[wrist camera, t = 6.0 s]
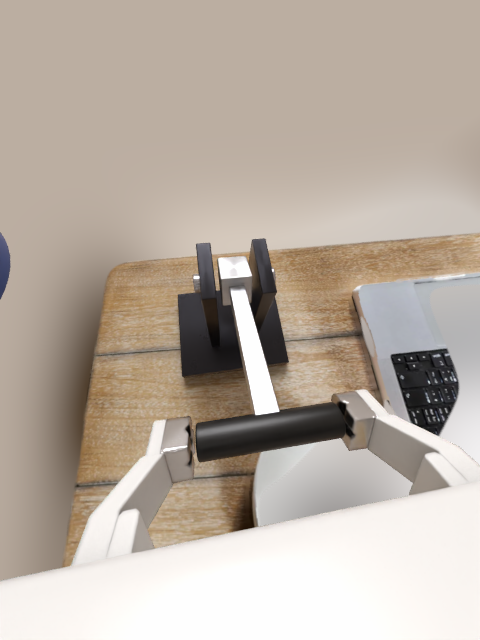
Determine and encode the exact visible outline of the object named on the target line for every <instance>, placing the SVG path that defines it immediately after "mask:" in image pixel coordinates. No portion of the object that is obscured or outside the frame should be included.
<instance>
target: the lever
mask: <svg viewBox="0 0 480 640" xmlns="http://www.w3.org/2000/svg"><path fill="white" fill-rule="evenodd" d="M217 262H218V274H219V285H220V292H221V298H222V305H223V306H224V305H231V307H232V312H233V317H234V323H235V328H236V333H237V338H238V343H239V348H240V354H241V359H242V364H243V369H244V374H245V380H246V385H247V390H248V395H249V400H250V406H251V411H252V415H245V416H239V417H232V418H226V419H219V420H213V421H207V422H200V423H197V425H196V451H197V457H198V461H199V462H206V461H212V460H217V459H223V458H229V457H235V456H240V455H246V454H252V453H258V452H263V451H269V450H275V449H281V448H286V447H292V446H298V445H304V444H310V443H315V442H321V441H327V440H332V439H338V438H343V437H344V436H345V433H346V426H345V421H344V417H343V415H342V412H341V410H340V409H339V407H338V406H337V405H336V404H335V403H333V402H329V403H322V404H316V405H309V406H303V407H296V408H290V409H284V410H279V406H278V402H277V399H276V395H275V392H274V388H273V385H272V381H271V378H270V374H269V370H268V367H267V363H266V360H265V356H264V353H263V349H262V346H261V342H260V338H259V335H258V331H257V328H256V324H255V321H254V317H253V314H252V310H251V306H250V303H251V302H252V278H253V276H252V273H251V270H250V267H249V264H248V261H247V258H246V256H239V257H227V258H218V259H217Z"/></svg>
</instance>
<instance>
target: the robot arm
mask: <svg viewBox="0 0 480 640" xmlns="http://www.w3.org/2000/svg"><path fill="white" fill-rule="evenodd" d="M331 401H332V402H333V403H335V404H336V405H337V406H338V407H339V409H340V410H341V412H342V415H343V417H344V421H345V426H346V433H345V436H344V437H343V438H341V439H342V440H343V441H344V443H345V445H346V447H347V448H348V450H349V451H352V450H358V449H365V448H368V450H370V451H371V452H372V453H374V454H375V455H376V456H378V457H379V458H380V459H382V460H383V461H384V462H386V463H387V464H388V465H390V466H391V467H392V468H394V469H395V470H397V471H398V472H399V473H400V474H402V475H403V476H404V477H406V478H407V479H408V480H410V481H411V482H413V485H412V487H411V490H410V492H409V496H405V497H400V498H395V499H390V500H385V501H380V502H375V503H370V504H366V505H361V506H356V507H351V508H346V509H342V510H337V511H332V512H327V513H322V514H318V515H313V516H308V517H303V518H298V519H294V520H289V521H284V522H279V523H275V524H270V525H265V526H260V527H255V528H251V529H246V530H241V531H236V532H231V533H227V534H222V535H217V536H212V537H207V538H203V539H198V540H193V541H188V542H184V543H179V544H174V545H169V546H164V547H160V548H154V545H153V543H152V540H151V538H150V536H149V533H148V531H147V529H148V527H149V525H150V524H151V522H152V520H153V518H154V517H155V515H156V513H157V512H158V510H159V508H160V506H161V505H162V503H163V501H164V499H165V498H166V496H167V494H168V492H169V491H170V489H171V487H172V485H173V484H172V483H177V482H182V481H187V480H191V479H194V465H195V462H194V457H193V455H194V453H195V436H194V430H193V429H192V420H191V417H190V416H187V417H179V418H171V419H165V420H157V421H155V422H154V423H153V426H152V430H151V435H150V439H149V443H148V447H147V451H146V455H145V456H143V457H141V458H140V459H139V460H138V461H137V463H136V464H135V465H134V466H133V467H132V468H131V469H130V471H129V472H128V473H127V474H126V475H125V476H124V477H123V479H122V480H121V481H120V482H119V483H118V484H117V485H116V487H115V488H114V489H113V490H112V491H111V492H110V493H109V495H108V496H107V497H106V498H105V499H104V500H103V501H102V503H101V504H100V505H99V506H98V507H97V508H96V509H95V511H94V512H93V513H92V514H91V515H90V517H89V519H88V522H87V525H86V527H85V530H84V533H83V535H82V538H81V540H80V543H79V546H78V548H77V551H76V554H75V556H74V559H73V561H72V564H71V566H68V567H63V568H59V569H54V570H49V571H44V572H39V573H35V574H30V575H25V576H20V577H16V578H10V579H6V580H1V581H0V640H480V465H479V464H478V463H477V462H476V461H475V460H473V459H472V458H471V457H470V456H469V455H468V454H467V453H466V452H465V451H464V450H463V449H461V448H460V447H459V446H457V445H455V444H453V443H451V442H449V441H447V440H445V439H443V438H440V437H438V436H436V435H434V434H432V433H430V432H428V431H426V430H424V429H422V428H420V427H418V426H416V425H414V424H412V423H409V422H407V421H405V420H403V419H401V418H399V417H397V416H395V415H390V414H389V413H388V412H387V411H386V410H385V409H384V408H383V407H382V406H381V405H380V404H379V403H378V402H377V401H376V399H375V398H374V397H373V396H372V395H371V394H370V393H369V392H368V391H367V390H365V389H361V390H355V391H349V392H343V393H337V394H333V395H332V398H331Z"/></svg>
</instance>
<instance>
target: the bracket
mask: <svg viewBox="0 0 480 640" xmlns="http://www.w3.org/2000/svg"><path fill="white" fill-rule="evenodd" d="M196 249H197V260H198V271H199V274H194V275H193V283H194V290H195V293H189V294H179V295H178V307H179V325H180V343H181V362H182V376H183V377H184V378H186V377H193V376H201V375H208V374H216V373H223V372H230V371H238V370H244V369H243V364H242V359H241V354H240V348H239V343H238V338H237V333H236V328H235V323H234V317H233V312H232V307H231V305H224V306H223V305H222V298H221V292H220V290H219V291H216V287H215V279H214V270H213V262H212V254H211V245H210V243H200V244H196ZM248 264H249V267H250V270H251V273H252V276H253V278H252V302H251V303H250V306H251V310H252V314H253V317H254V321H255V324H256V328H257V331H258V335H259V338H260V342H261V346H262V349H263V353H264V356H265V360H266V363H267V366H275V365H282V364H287V363H288V362H289V360H288V356H287V351H286V346H285V342H284V337H283V332H282V328H281V323H280V318H279V314H278V309H277V304H276V300H275V295H276V293H277V290H276V285H275V280H276V277H275V271H274V268H272V267H271V262H270V258H269V253H268V249H267V244H266V239H253V240H252V243H251V250H250V256H249V262H248Z"/></svg>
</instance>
